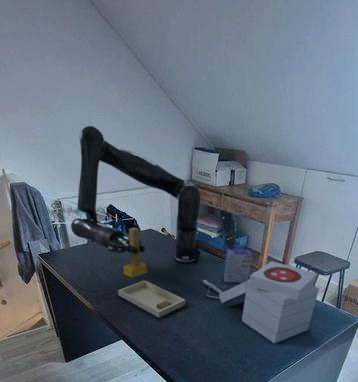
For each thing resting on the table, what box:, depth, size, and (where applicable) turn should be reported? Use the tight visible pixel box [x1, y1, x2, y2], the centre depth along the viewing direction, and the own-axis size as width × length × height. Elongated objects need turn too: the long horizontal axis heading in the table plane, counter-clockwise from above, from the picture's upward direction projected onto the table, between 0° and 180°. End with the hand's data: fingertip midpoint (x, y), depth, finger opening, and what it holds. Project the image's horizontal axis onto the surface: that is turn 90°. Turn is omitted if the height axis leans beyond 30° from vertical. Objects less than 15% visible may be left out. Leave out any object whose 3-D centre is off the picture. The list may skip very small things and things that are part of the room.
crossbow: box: [202, 279, 232, 299], centre depth 129 cm, size 16×13×2 cm
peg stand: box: [123, 227, 148, 279], centre depth 117 cm, size 4×7×16 cm, turn 136°
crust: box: [157, 300, 172, 309], centre depth 116 cm, size 3×4×1 cm, turn 136°
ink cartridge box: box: [223, 244, 253, 284], centre depth 135 cm, size 10×6×14 cm, turn 89°
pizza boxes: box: [218, 260, 320, 344], centre depth 108 cm, size 19×30×18 cm, turn 32°
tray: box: [117, 280, 186, 318], centre depth 120 cm, size 22×13×3 cm, turn 46°
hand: (140, 250), depth 114 cm, fingers closed on peg stand, 2 cm apart
